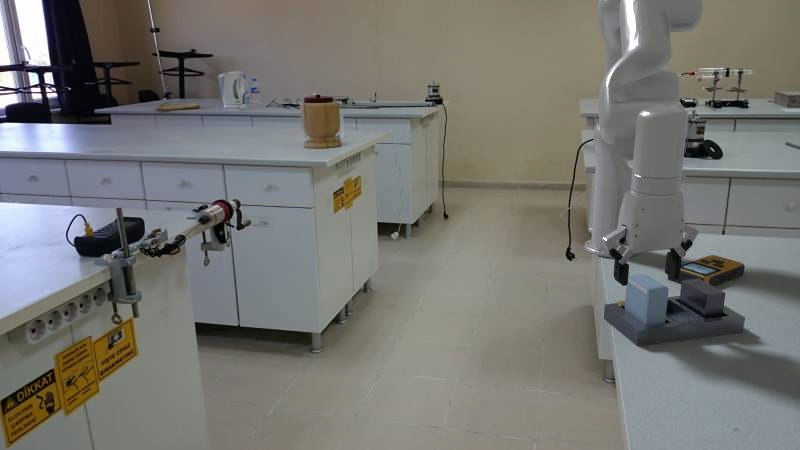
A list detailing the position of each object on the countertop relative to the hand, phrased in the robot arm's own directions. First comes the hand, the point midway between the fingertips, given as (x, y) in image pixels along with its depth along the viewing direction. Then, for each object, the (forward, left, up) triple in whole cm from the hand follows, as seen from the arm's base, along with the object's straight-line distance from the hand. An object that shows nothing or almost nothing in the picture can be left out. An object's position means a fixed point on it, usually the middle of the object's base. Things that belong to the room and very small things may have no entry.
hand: (646, 279), depth 106 cm
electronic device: (-18, +26, -10) cm, 33 cm away
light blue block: (+1, 0, -8) cm, 8 cm away
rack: (+1, +5, -9) cm, 10 cm away
